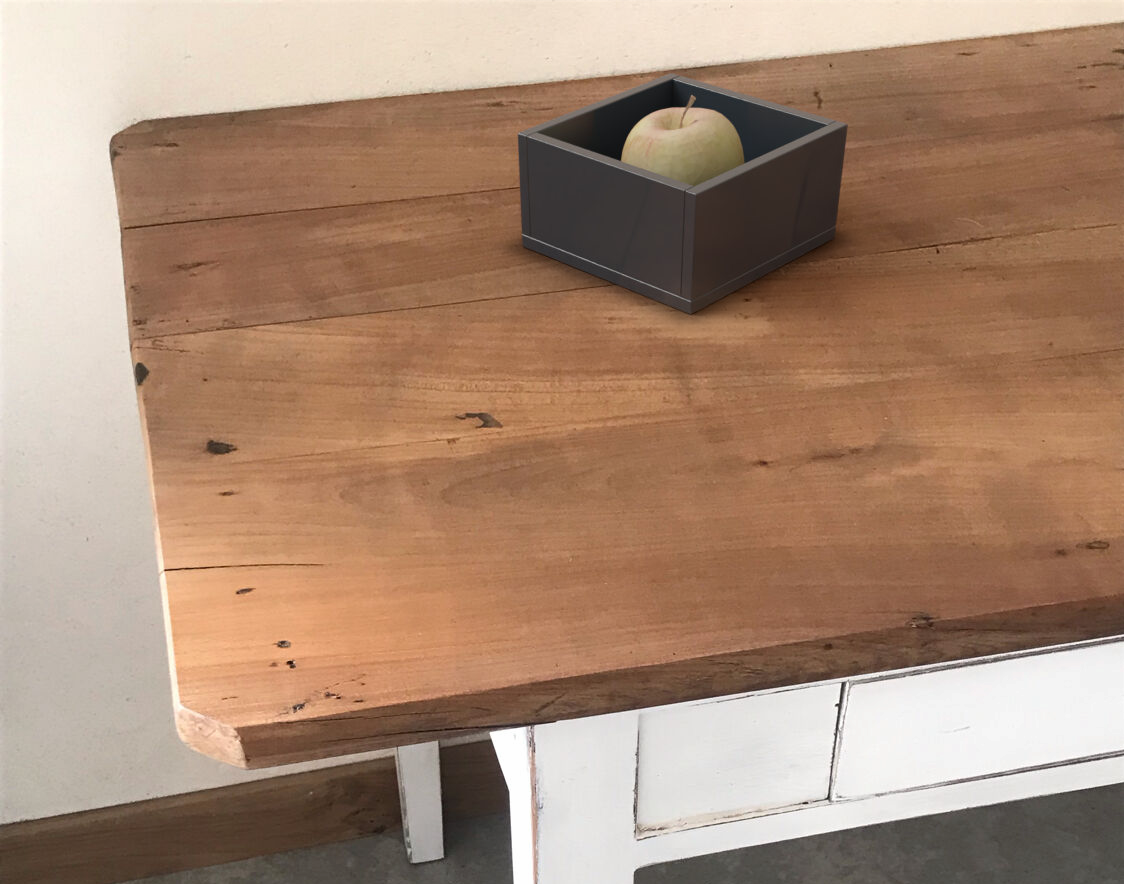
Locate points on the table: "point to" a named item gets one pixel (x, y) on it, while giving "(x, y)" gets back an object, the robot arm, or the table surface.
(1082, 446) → the table surface
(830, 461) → the table surface
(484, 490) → the table surface
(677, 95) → the dark grey open box
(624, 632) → the table surface
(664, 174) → the fruit
